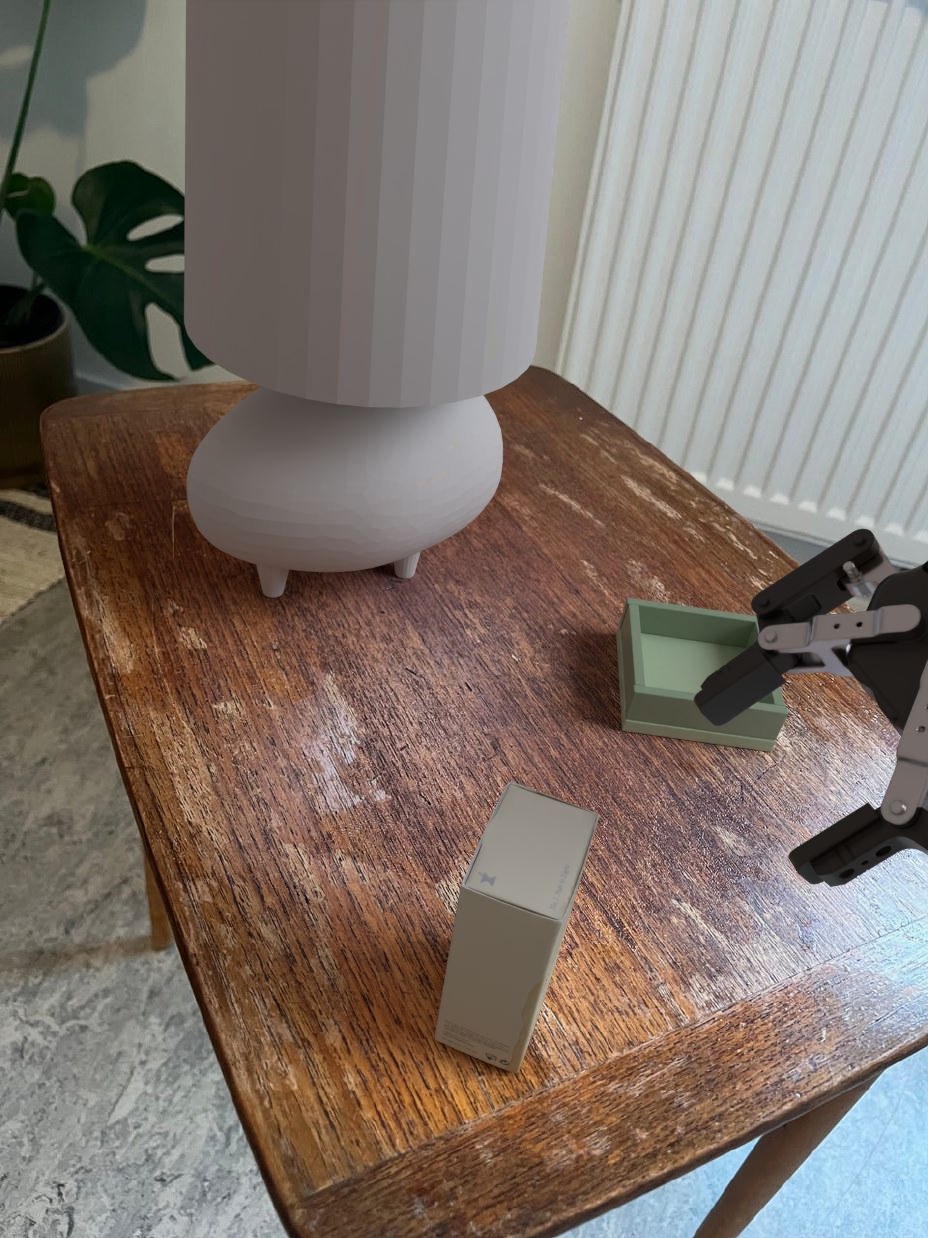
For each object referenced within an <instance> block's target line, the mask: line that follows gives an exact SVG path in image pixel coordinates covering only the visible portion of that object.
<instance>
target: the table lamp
mask: <svg viewBox="0 0 928 1238" xmlns="http://www.w3.org/2000/svg"><path fill="white" fill-rule="evenodd" d="M570 3H571V0H185V90H184V91H185V93H184V94H185V95H184V96H185V98H184V99H185V101H184V109H185V111H184V115H185V116H184V121H185V123H184V132H185V133H184V256H183V257H184V258H183V259H184V260H183V261H184V263H183V264H184V265H183V267H184V269H183V270H184V271H183V272H184V274H183V279H184V281H183V282H184V283H183V325H184V328H185V331H186V334H187V336H188V338H189V339H190V340H191V342H192V344H193V345H194V347H195V348H196V349H197V350H198V351H199V352H201V353H202V354H203V355H204V356H205V357H206V359H208V360H209V361H210V362H213V363H214V364H216V365H217V366H219V367H220V368H221V369H223V370H224V371H226V372H228V373H230V374H232V375H234V376H237V377H238V378H241V379H242V380H245V381H247V382H249V383H252V384H255V385H258V386H260V387H258V388H257V389H255V390H253V392H251V393H250V394H249V395H248V396H246V397H244V398H243V399H242V400H240V401H239V402H238V403H237V404H236V405H234V406H233V407H232V408H231V409H230V410H229V411H227V412H226V414H224V415H223V416H222V417H221V418H219V420H218V421H217V422H216V423H215V424H214V425H213V426H212V427H211V428H210V430H209V431H208V432H207V433H206V434H205V436H204V438H203V439H202V440H201V441H200V443H199V444H198V446H197V447H196V449H195V451H194V452H193V455H192V457H191V459H190V463H189V466H188V470H187V475H186V500H187V504H188V508H189V512H190V515H191V517H192V520H193V521H194V524H195V525H196V528H197V530H198V531H199V533H200V534H201V535H202V536H203V537H204V538H205V540H206V541H208V543H210V544H211V545H212V546H213V547H215V548H216V549H218V550H219V551H222V552H223V553H226V554H227V555H229V556H231V557H234V559H238V560H240V561H243V562H247V563H250V564H254V565H256V570H257V574H258V578H259V583H260V587H261V591H262V595H264V596H265V597H267V598H278V597H281V596H282V595H283V594H284V592H285V588H286V585H287V579H288V576H289V573H290V571H299V572H310V573H311V572H314V573H344V572H345V573H346V572H356V571H363V570H368V569H374V568H377V567H381V566H384V565H389V564H391V563H393V567H394V574H395V575H396V577H398V578H400V579H410V578H412V577H414V575H415V574H416V570H417V566H418V563H419V560H420V559H419V558H420V555H421V552H422V551H425V550H427V549H429V548H432V547H433V546H435V545H438V544H440V543H442V542H443V541H446V540H447V539H449V538H451V537H453V536H454V535H456V534H457V533H459V532H460V531H462V530H464V528H466V527H467V526H468V525H470V524H471V523H472V522H473V521H474V520H475V519H476V518H477V517H478V516H479V515H480V514H481V513H482V512H483V511H484V510H485V508H486V507H487V506H488V504H489V503H490V501H491V500H492V499H493V497H495V494H496V492H497V489H498V487H499V484H500V481H501V478H502V471H503V462H504V445H503V436H502V428H501V426H500V424H499V421H498V418H497V414H496V413H495V411H494V409H493V408H492V406H491V405H490V403H489V401H488V399H487V398H486V397H485V396H484V395H487V394H490V393H492V392H495V391H498V390H500V389H503V388H504V387H506V386H507V385H509V384H510V383H512V382H515V381H516V380H518V379H519V378H520V377H521V375H523V374H524V373H525V372H526V371H528V369H529V368H530V366H531V364H532V362H533V361H534V359H535V356H536V352H537V351H536V350H537V343H538V332H539V323H540V311H541V301H542V292H543V280H544V273H545V272H544V271H545V262H546V261H545V260H546V250H547V239H548V229H549V219H550V208H551V199H552V198H551V197H552V188H553V179H554V178H553V177H554V168H555V157H556V149H557V137H558V125H559V118H560V117H559V115H560V107H561V94H562V84H563V76H564V74H563V73H564V64H565V53H566V44H567V33H568V23H569V14H570V13H569V12H570Z"/></svg>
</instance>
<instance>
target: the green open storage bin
mask: <svg viewBox="0 0 928 1238" xmlns="http://www.w3.org/2000/svg"><path fill="white" fill-rule="evenodd" d="M615 635H616V636H615V637H616V652H617V653H616V654H617V668H618V684H619V685H618V688H619V702H620V705H619V706H620V722H621V731H622V732H628V733H635V734H642V735H647V736H648V735H649V736H656V737H664V738H670V739H675V740H676V739H678V740H684V741H690V742H697V743H705V744H712V745H720V746H726V747H734V748H741V749H746V750H753V751H761V752H768V753H772V751H773V749H774V747H775V745H776V742H777V739H778V736H779V734H780V733H781V730H782V728H783V726H784V724H785V722H786V720H787V719H788V715H789V711H788V707H787V706H786V704H785V700H784V697H783V692H782V688H781V687H782V686H780V687H779V688H777V689H776V690H774V691H773V692H771V693H770V694H768V695H767V696H766V697H764V698H763V699H761V700H760V701H758V702H757V703H755V704H754V705H752V706H751V707H749V708H748V709H746V710H745V711H744V712H742V713H741V714H739V715H738V716H736V717H735V718H733V719H732V720H730V721H729V722H727V723H726V724H724V725H721V726H715V725H713V724H712V723H711V722H710V721H709V720H708V719H707V718H706V717H705V716H704V715H703V714H702V713H701V712H700V710H699V709H698V707H697V705H696V704H695V702H694V697H695V695H696V694H697V693H698V692H699V691H701V690H702V688H701V687H700V686H701V685H702V683H703V682H704V681H705V679H706V678H707V677H708V676H709V675H711V674H712V673H714V672H715V671H716V670H719V668H721V667H722V666H723V665H726V664H727V663H728V662H729V661H731V660H732V659H733V658H735V657H736V656H738V655H739V654H741V653H742V652H743V651H745V650H746V649H748V648H749V647H751V646H752V645H753V644H754V643H755V642H756V640H757V638H758V636H759V627H758V622H757V617H756V615H752V614H744V613H739V612H731V611H725V610H717V609H710V608H703V607H697V606H690V605H683V604H677V603H676V604H675V603H669V602H661V601H655V600H648V599H642V598H641V599H640V598H634V597H627V598H626V599H625V602H624V606H623V609H622V612H621V616H620V620H619V624H618V626H617V630H616V632H615Z"/></svg>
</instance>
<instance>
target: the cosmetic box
mask: <svg viewBox="0 0 928 1238" xmlns="http://www.w3.org/2000/svg"><path fill="white" fill-rule="evenodd" d="M599 818H600V814H598V813H597V812H595V811H592V810H590V809H588V808H586V807H585V808H584V807H582V806H579V805H577V804H574V803H572V802H569V801H566V800H564V799H561V798H558V797H555V796H553V795H551V794H547V793H544V792H542V791H540V790H536V789H534V788H531V787H529V786H527V785H523V784H520V783H517V782H514V781H509V782H508V783H507V784H506V785H505V787H504V789H503V791H502V792H501V795H500V797H499V799H498V801H497V803H496V805H495V807H494V809H493V812H492V813H491V815H490V817H489V819H488V821H487V823H486V825H485V828H484V830H483V832H482V835H481V837H480V839H479V842H478V844H477V846H476V848H475V851H474V853H473V855H472V857H471V860H470V863H469V865H468V867H467V869H466V871H465V875H464V877H463V879H462V881H461V882H460V887H459V893H458V899H457V904H456V910H455V917H454V922H453V928H452V932H451V938H450V939H451V940H450V945H449V951H448V957H447V963H446V968H445V975H444V980H443V986H442V991H441V998H440V1003H439V1010H438V1017H437V1020H436V1021H437V1022H436V1027H435V1031H434V1040H435V1041H436V1042H439V1043H440V1044H441V1043H442V1044H443V1045H446V1046H448V1047H450V1048H452V1049H455V1050H456V1051H459V1052H461V1053H464V1054H466V1055H469V1056H471V1057H473V1058H475V1059H478V1060H480V1061H482V1062H485V1063H487V1064H490V1065H492V1066H495V1067H497V1068H499V1069H502V1070H505V1071H507V1072H510V1073H512V1074H518V1073H519V1071H520V1069H521V1067H522V1064H523V1060H524V1058H525V1055H526V1052H527V1050H528V1047H529V1046H530V1042H531V1039H532V1037H533V1033H534V1030H535V1027H536V1026H537V1025H536V1024H537V1022H538V1020H539V1016H540V1013H541V1010H542V1007H543V1004H544V1001H545V998H546V995H547V992H548V988H549V987H550V983H551V981H552V977H553V974H554V971H555V969H556V964H557V961H558V959H559V955H560V952H561V949H562V945H563V941H564V938H565V935H566V932H567V928H568V924H569V921H570V917H571V915H572V910H573V907H574V904H575V900H576V898H577V894H578V891H579V887H580V884H581V880H582V876H583V873H584V871H585V866H586V864H587V860H588V856H589V853H590V850H591V847H592V843H593V839H594V837H595V833H596V829H597V826H598V823H599Z"/></svg>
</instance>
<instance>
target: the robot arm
mask: <svg viewBox="0 0 928 1238" xmlns="http://www.w3.org/2000/svg"><path fill="white" fill-rule="evenodd" d="M871 595H872V597H871V598H870V601H869V603H868V605H867V608H866V610H863V611H862V610H861V611H851V612H839V613H831V612H832V611H834V610H835V609H837V608H839V607H840V606H842V605H843V604H845V603H846V602H848V601H849V600H851V599H853V598H855V597H857V598H859V597H861V598H864V599H866V598H869V597H870V596H871ZM750 608H751V610H752V612H753V613H754V614H755V616H756V617H757V622H758V627H759V636H758V638H757V640H756V642H755V643H754V644H753V645H752V646H751V647H749V648H748V649H746V650H745V651H743V652H742V653H741V654H739V655H738V656H736V657H735V658H733V659H732V660H731V661H729V662H728V663H727V664H726V665H723V666H722V667H721V668H719V670H716V671H715V672H714V673H712V674H711V675H709V676H708V677H707V678H706V679H705V681H704V682H703V683H702V685H701V686H700V687H701V688H702V690H701V691H699V692H698V693H697V694H696V695H695V697H694V702H695V704H696V705H697V707H698V709H699V710H700V712H701V713H702V714H703V715H704V716H705V717H706V718H707V719H708V720H709V721H710V722H711V723H712V724H713V725H715V726H721V725H724V724H726V723H727V722H729V721H730V720H732V719H733V718H735V717H736V716H738V715H739V714H741V713H742V712H744V711H745V710H746V709H748V708H749V707H751V706H752V705H754V704H755V703H757V702H758V701H760V700H761V699H763V698H764V697H766V696H767V695H768V694H770V693H771V692H773V691H774V690H776V689H777V688H779V687H782V686H783V685H784V684H786V683H787V680H786V678H785V677H784V676H783V675H784V674H787V675H799V674H800V675H802V674H818V673H826V674H827V673H828V674H831V675H832V676H836V677H843V678H845V677H854V679H855V680H856V681H857V683H858V684H859V685H860V687H861V688H862V689H863V691H864V692H865V693H866V694H867V695H868V697H869V698H870V699H871V701H873V702H874V703H876V704H877V707H878V708H879V710H880V711H881V712H882V713H883V715H884V716H885V717H886V718H887V720H888V721H889V723H890V724H891V725H892V726H893V728H894V729H895V731H896V732H897V733H898V734H899V736H900V738H899V741H898V743H897V746H896V752H895V756H896V758H895V759H896V763H895V766H894V770H893V772H892V775H891V777H890V779H889V783H888V785H887V787H886V790H885V793H884V796H883V798H882V801H881V803H880V806H878V807H877V808H874V807H873V806H872V805H871V804H870V802H868V801H867V802H866V803H865V804H863V805H862V806H860V807H858V808H856V809H855V810H853V811H852V812H849V814H847V815H845V816H844V817H842V818H840V820H838V821H836V822H834V823H832V824H830V825H829V826H828V827H826V828H825V829H823V830H822V831H820V832H819V833H817V834H816V835H813V836H812V837H811V838H809V839H807V840H806V841H804V842H803V843H801V844H800V845H798V846H796V847H795V848H793V849H791V851H790V852H789V853H788V855H787V858H788V860H789V861H790V863H791V865H792V866H793V868H794V870H795V871H796V873H797V875H799V876H800V877H801V878H802V879H803V880H805V881H806V882H807V883H808V884H810V885H818V884H822V883H825V884H827V885H828V886H829V887H830V888H833V887H838V886H844V885H845V886H846V884H848V883H850V882H852V881H853V880H855V879H856V878H858V877H860V876H861V875H863V874H865V873H867V871H870V870H871V869H874V868H875V867H876V866H878V865H880V864H882V863H883V862H885V861H886V860H888V859H890V858H891V857H893V856H895V855H896V854H898V853H899V852H902V851H904V850H916V851H920V852H921V853H923V854H925V855H926V856H928V560H926V561H925V562H924V563H922V564H920V565H918V566H916V567H913V568H909V569H907V570H902V571H898V570H897V569H896V568H895V567H894V565H893V564H892V562H891V561H890V559H889V557H888V556H887V554H886V553H885V551H884V549H883V548H882V546H881V544H880V542H879V541H878V539H877V538H876V536H875V534H874V532H872V531H871V530H870V529H869V528H858V529H856V530H853V531H852V532H850V533H849V534H847V535H845V536H844V537H843V538H840V539H839V540H838V541H837V542H835V543H833V544H832V545H830V546H829V547H827V548H825V549H824V550H822V551H821V552H820V553H818V554H816V555H815V556H813V557H812V558H810V559H809V560H807V561H805V562H804V563H802V564H801V565H800V566H798V567H797V568H794V570H792V571H790V572H789V573H787V574H786V575H784V576H783V577H781V578H779V579H778V580H776V581H775V582H773V583H772V584H769V586H767V587H765V588H764V589H763V590H761V591H760V592H758V593H757V594H755V595H754V596H753V598H752V599H751V602H750ZM829 613H830V614H829Z"/></svg>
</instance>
